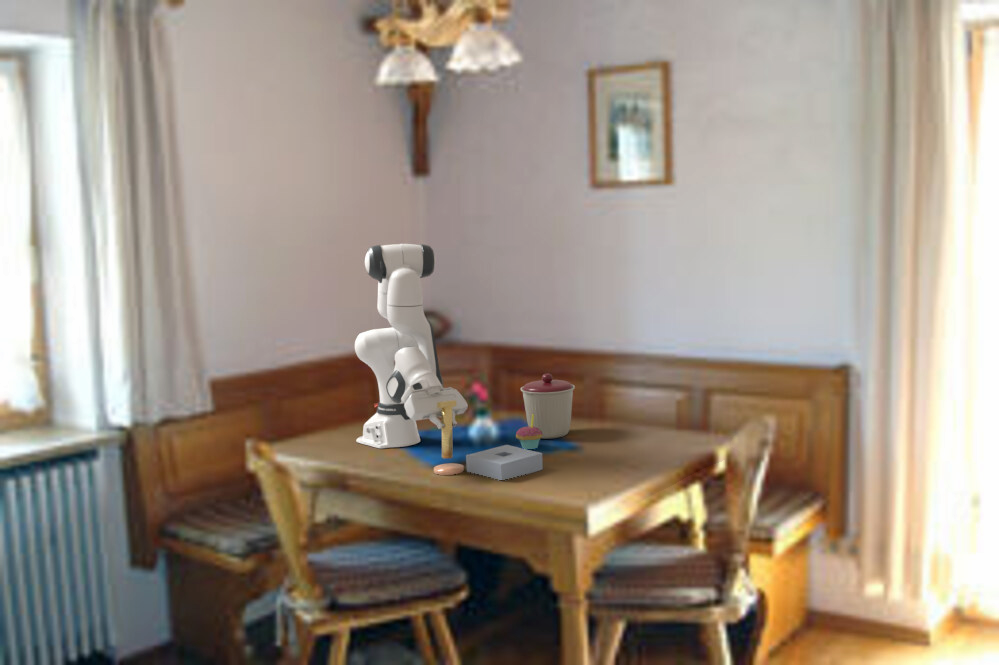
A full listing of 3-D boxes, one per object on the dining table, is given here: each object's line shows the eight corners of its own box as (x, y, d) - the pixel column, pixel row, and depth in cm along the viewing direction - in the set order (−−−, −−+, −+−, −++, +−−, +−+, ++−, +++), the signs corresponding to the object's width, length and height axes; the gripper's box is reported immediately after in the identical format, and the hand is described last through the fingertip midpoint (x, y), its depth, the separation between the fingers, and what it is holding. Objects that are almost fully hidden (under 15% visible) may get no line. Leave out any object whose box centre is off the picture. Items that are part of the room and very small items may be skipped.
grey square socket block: (466, 471, 309) (466, 455, 308) (507, 460, 319) (506, 444, 318) (501, 481, 296) (500, 464, 296) (542, 469, 307) (542, 453, 306)
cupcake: (547, 446, 334) (546, 409, 332) (535, 452, 327) (533, 415, 325) (524, 444, 338) (522, 407, 337) (511, 450, 331) (509, 413, 329)
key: (435, 458, 307) (435, 401, 306) (451, 455, 311) (451, 399, 309) (442, 459, 305) (442, 403, 303) (458, 456, 309) (458, 400, 307)
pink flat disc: (427, 473, 309) (427, 469, 309) (447, 465, 316) (447, 462, 316) (450, 477, 303) (450, 473, 303) (470, 469, 311) (469, 465, 310)
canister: (577, 428, 356) (575, 368, 353) (575, 441, 338) (573, 377, 335) (525, 429, 358) (522, 369, 355) (520, 442, 340) (517, 379, 337)
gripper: (450, 393, 322) (470, 428, 315) (396, 400, 308) (416, 437, 302) (459, 380, 318) (479, 416, 312) (405, 386, 304) (425, 424, 298)
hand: (448, 426), depth 307 cm, fingers closed on key, 3 cm apart
